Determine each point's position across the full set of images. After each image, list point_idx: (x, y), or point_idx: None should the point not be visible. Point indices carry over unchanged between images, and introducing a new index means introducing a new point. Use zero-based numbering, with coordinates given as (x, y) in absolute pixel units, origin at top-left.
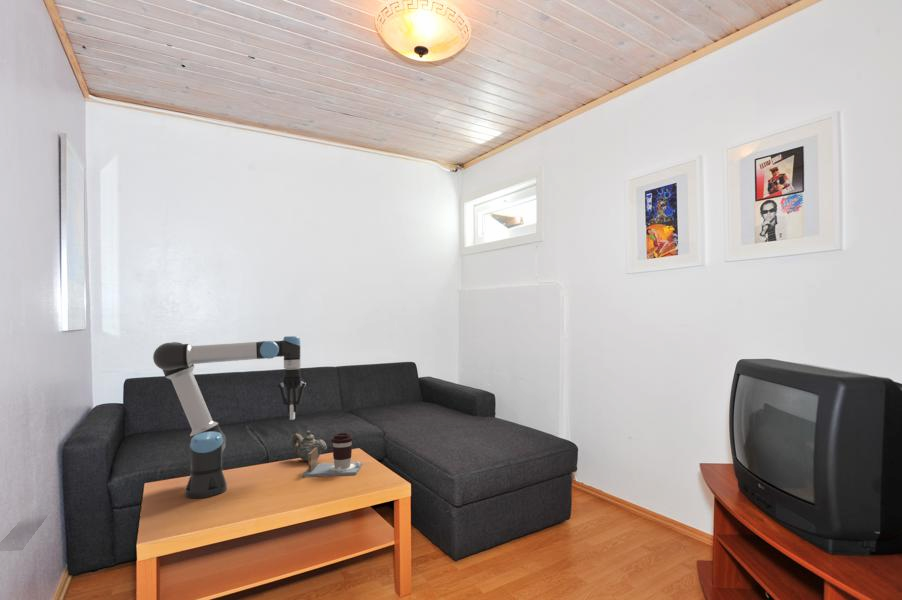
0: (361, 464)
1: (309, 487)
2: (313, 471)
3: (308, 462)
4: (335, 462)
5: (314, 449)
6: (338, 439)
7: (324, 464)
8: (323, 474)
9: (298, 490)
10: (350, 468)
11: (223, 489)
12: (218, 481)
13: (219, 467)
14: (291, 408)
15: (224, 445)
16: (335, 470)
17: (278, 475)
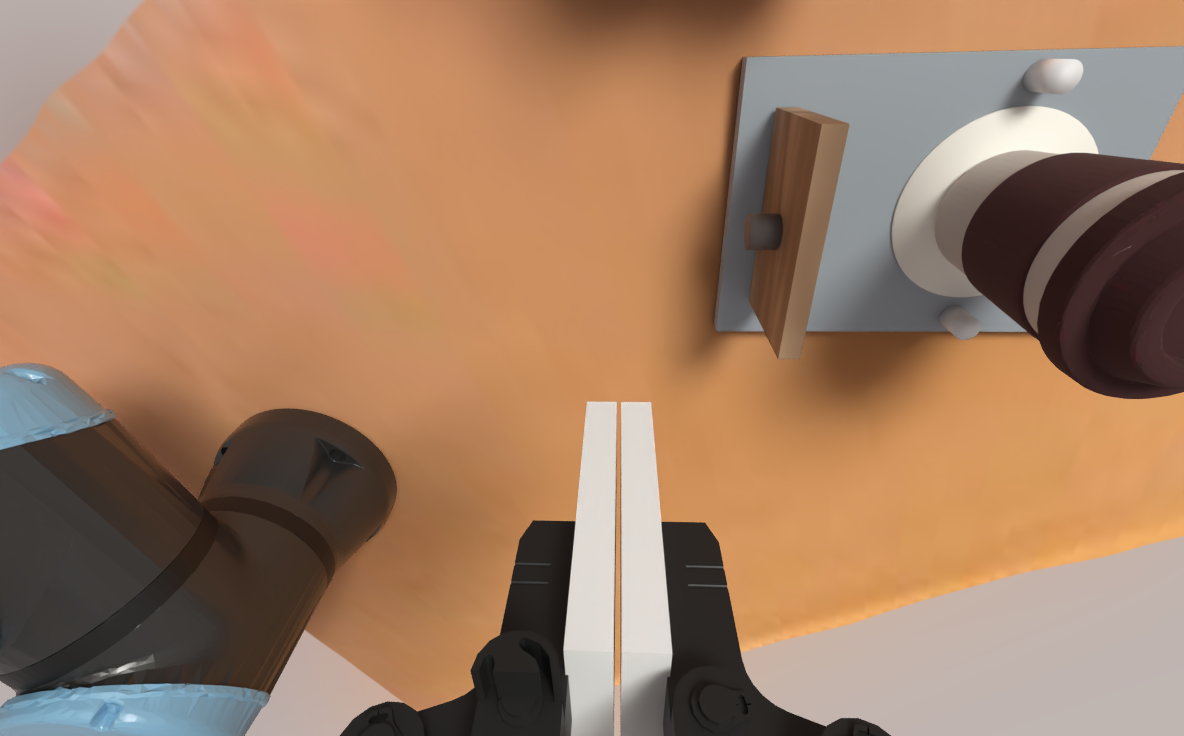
0: (1170, 97)
1: (777, 477)
2: None
3: (763, 327)
4: (960, 268)
5: (820, 216)
6: (1127, 378)
7: (853, 96)
8: (845, 328)
9: (732, 503)
10: None
11: (392, 493)
12: (365, 537)
13: (326, 574)
14: (614, 659)
15: (139, 512)
16: (931, 291)
17: (546, 269)
